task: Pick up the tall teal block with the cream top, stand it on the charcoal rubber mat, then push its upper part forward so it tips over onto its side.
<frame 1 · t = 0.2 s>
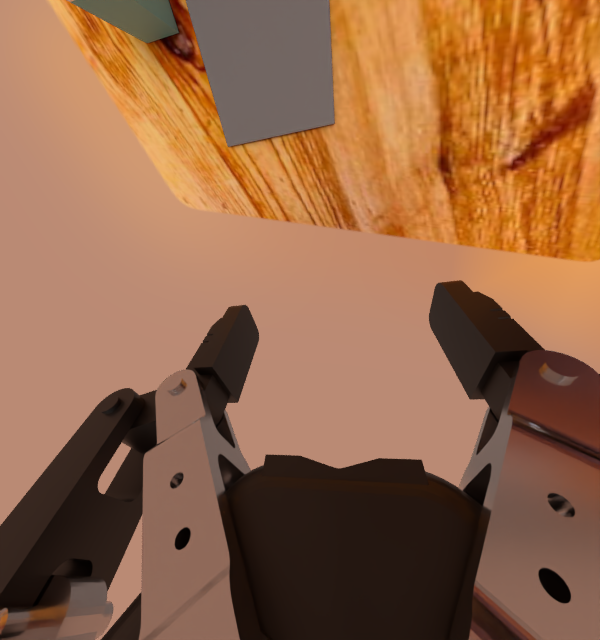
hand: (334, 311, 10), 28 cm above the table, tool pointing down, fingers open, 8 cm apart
mat: (268, 66, 24), on the table
block: (152, 7, 22), on the table
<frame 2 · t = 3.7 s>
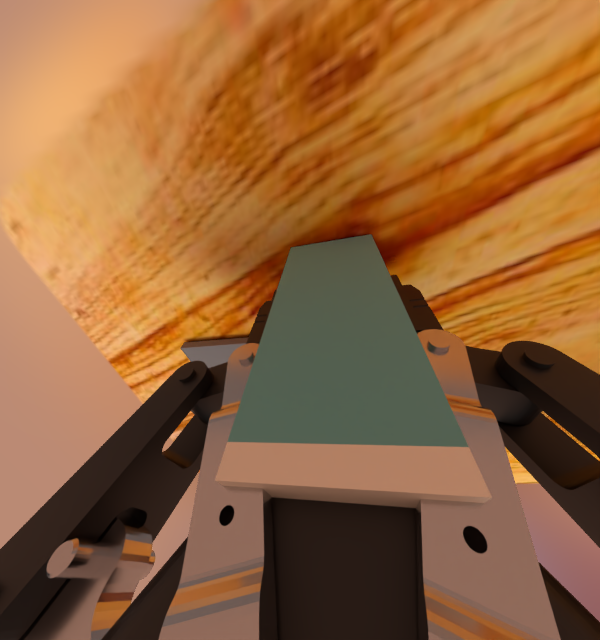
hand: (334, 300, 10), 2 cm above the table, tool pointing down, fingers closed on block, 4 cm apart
mat: (280, 390, 20), on the table
block: (333, 276, 12), on the table, touching gripper
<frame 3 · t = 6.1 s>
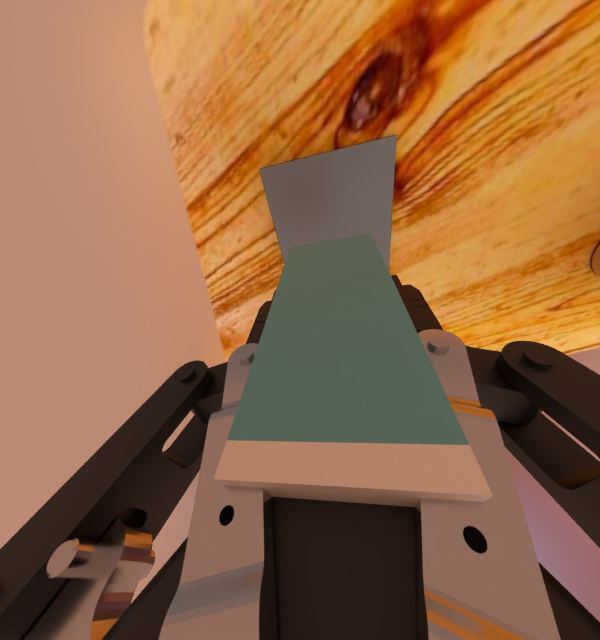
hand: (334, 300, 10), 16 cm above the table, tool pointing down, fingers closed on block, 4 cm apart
mat: (332, 231, 24), on the table
block: (333, 275, 12), point 14 cm above the table, touching gripper
when the fingers open (4 cm above the table, at t = 8.5 s): block stays where it is, resting on mat.
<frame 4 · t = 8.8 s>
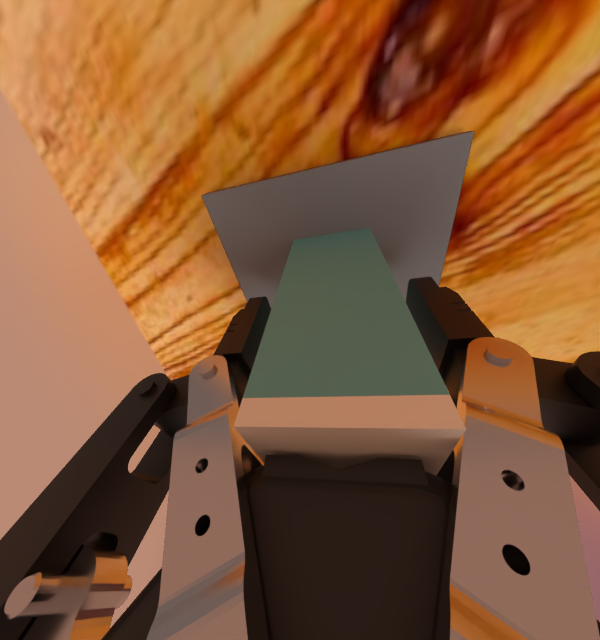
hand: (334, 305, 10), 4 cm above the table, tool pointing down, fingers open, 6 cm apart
mat: (335, 292, 14), on the table
block: (333, 268, 13), point 1 cm above the table, touching mat
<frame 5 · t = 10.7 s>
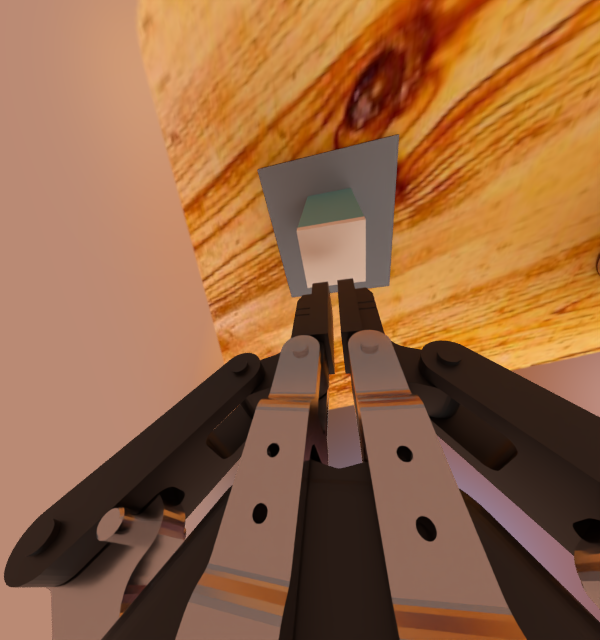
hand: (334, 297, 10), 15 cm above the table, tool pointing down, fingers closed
mat: (332, 233, 23), on the table
block: (330, 214, 21), point 1 cm above the table, touching mat
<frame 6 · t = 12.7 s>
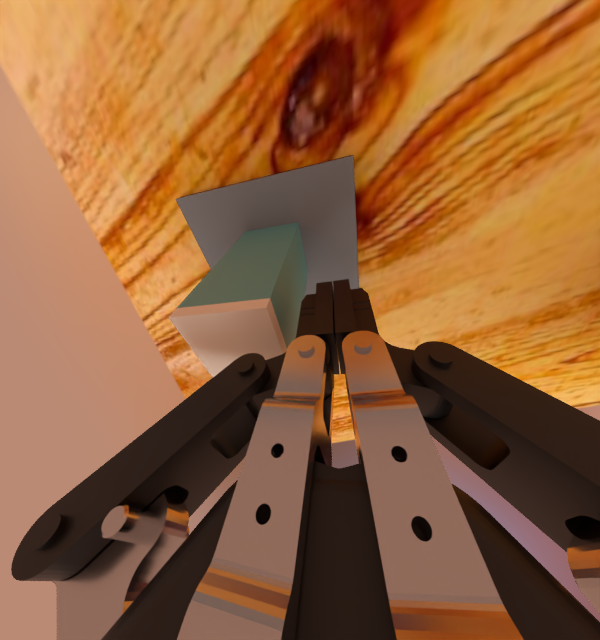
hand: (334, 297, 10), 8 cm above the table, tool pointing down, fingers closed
mat: (285, 273, 18), on the table
block: (278, 253, 17), point 1 cm above the table, touching gripper, mat
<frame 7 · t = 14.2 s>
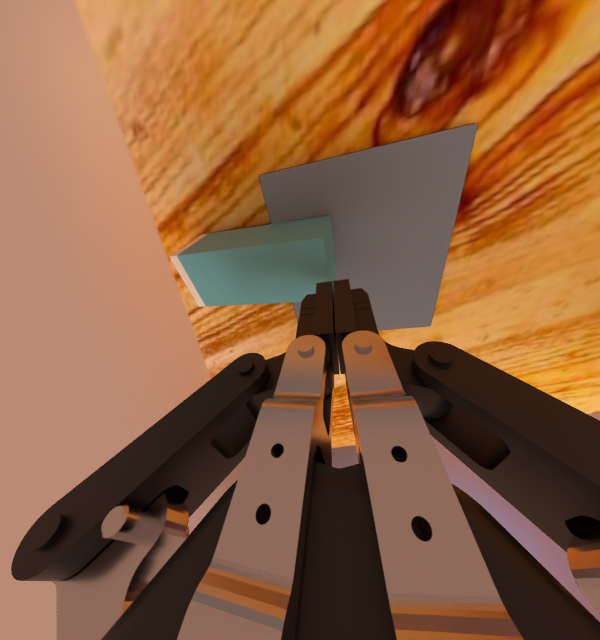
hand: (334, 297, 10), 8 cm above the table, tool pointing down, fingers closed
mat: (359, 261, 17), on the table
block: (330, 257, 14), point 3 cm above the table, tilted 96°, touching mat
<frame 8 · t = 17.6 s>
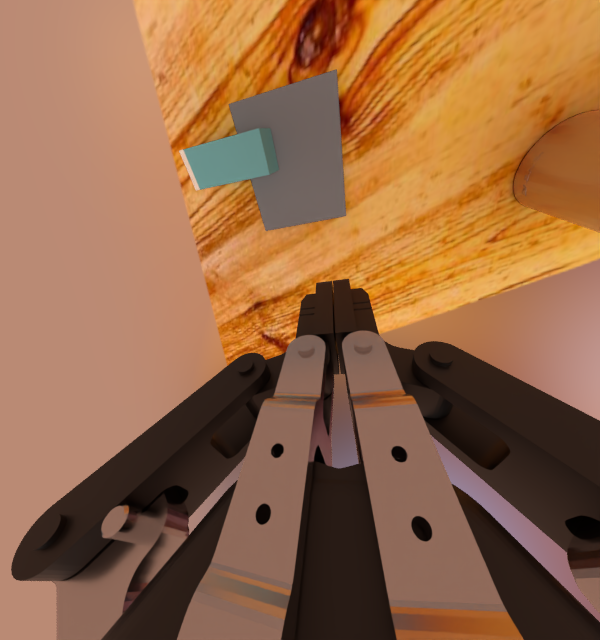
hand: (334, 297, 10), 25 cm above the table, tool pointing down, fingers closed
mat: (294, 166, 28), on the table
block: (270, 151, 25), point 3 cm above the table, tilted 96°, touching mat
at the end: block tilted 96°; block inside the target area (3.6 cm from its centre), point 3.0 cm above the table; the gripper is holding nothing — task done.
